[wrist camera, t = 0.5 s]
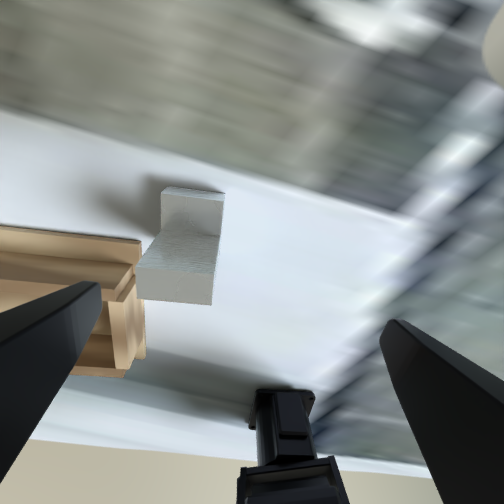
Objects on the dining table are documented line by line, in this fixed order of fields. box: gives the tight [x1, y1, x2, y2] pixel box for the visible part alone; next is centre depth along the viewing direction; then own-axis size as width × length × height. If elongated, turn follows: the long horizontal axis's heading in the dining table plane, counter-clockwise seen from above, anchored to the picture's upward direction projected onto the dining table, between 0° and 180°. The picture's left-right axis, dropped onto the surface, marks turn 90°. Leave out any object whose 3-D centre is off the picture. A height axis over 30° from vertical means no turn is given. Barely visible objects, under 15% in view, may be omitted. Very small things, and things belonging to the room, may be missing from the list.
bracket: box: [135, 186, 225, 305], centre depth 17 cm, size 4×4×7 cm
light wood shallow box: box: [0, 226, 146, 378], centre depth 21 cm, size 12×15×4 cm
